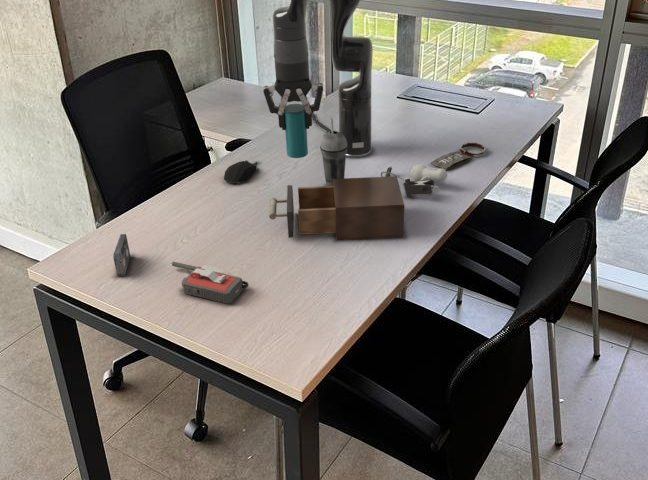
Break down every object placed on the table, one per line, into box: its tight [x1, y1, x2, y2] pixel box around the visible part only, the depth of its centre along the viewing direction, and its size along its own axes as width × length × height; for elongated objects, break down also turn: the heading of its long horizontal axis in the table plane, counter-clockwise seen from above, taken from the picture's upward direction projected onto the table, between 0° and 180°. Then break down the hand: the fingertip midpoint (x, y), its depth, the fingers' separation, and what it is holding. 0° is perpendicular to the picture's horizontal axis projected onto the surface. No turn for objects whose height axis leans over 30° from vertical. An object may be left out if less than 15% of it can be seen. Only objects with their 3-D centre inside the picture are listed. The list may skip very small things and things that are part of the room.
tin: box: [284, 103, 309, 159], centre depth 171 cm, size 5×5×12 cm
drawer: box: [268, 184, 336, 239], centre depth 175 cm, size 19×14×7 cm
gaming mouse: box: [223, 160, 258, 184], centre depth 202 cm, size 6×15×4 cm, turn 155°
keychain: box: [430, 141, 487, 170], centre depth 207 cm, size 8×19×2 cm, turn 131°
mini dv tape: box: [112, 233, 131, 277], centre depth 162 cm, size 8×2×6 cm, turn 4°
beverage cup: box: [319, 116, 348, 186], centre depth 189 cm, size 7×7×20 cm
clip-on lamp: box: [380, 163, 448, 198], centre depth 192 cm, size 12×6×18 cm
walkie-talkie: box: [171, 261, 249, 304], centre depth 155 cm, size 9×4×20 cm
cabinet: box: [333, 175, 405, 241], centre depth 175 cm, size 16×15×9 cm
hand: (295, 127), depth 171 cm, fingers closed on tin, 5 cm apart
